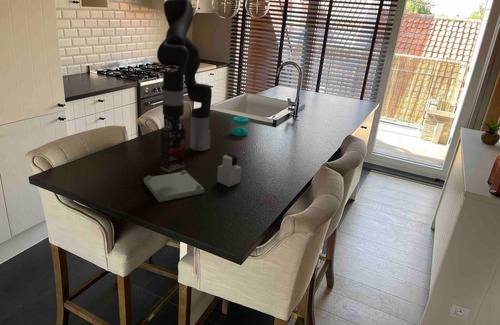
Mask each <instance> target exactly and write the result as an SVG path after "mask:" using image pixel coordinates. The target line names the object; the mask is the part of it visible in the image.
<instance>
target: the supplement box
mask: <svg viewBox="0 0 500 325" xmlns="http://www.w3.org/2000/svg"><path fill="white" fill-rule="evenodd" d="M173 131H176V130H173ZM185 165H186V127H184V126H183V138H182V139H180V148H179V149H174V148H173V133H172V131H171V129H170V128H161V129H160V169H161V170H163V171H166V172H168V173H170V172H172V171H174V170H177V169H181V168H184V167H186V166H185Z"/></svg>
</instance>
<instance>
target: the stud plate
mask: <svg viewBox="0 0 500 325" xmlns="http://www.w3.org/2000/svg"><path fill="white" fill-rule="evenodd" d="M143 183H144V185H145V186H146V187H147V188H148V189H149V191H150V192H151V194H152V195H153V196H154V197H155V199H156V200H157V201H158V202H159V203H162V202H166V201H171V200H177V199H180V198H185V197H186V198H187V197H191V196H196V195H201V194H204V193H205V188H204V187H203V186H202V185H201V184H200V183H199V182H198V181H197V180H196V179H194V178H193V177H192V175H190V174H189V173H188V172H187V170H185V169H183V170H181V171H180V172H178V171H177V172H174V173H168V174H167V173H166V174H162V175H161V174H160V175H154V176H151V175H146V177H144V178H143Z"/></svg>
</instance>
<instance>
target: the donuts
mask: <svg viewBox="0 0 500 325" xmlns="http://www.w3.org/2000/svg"><path fill="white" fill-rule="evenodd" d="M231 122H232V123H233V124H234V125H236V126H246V125H248V124H249V123H250V119H249V118H247V117H245V116H234V117H232V118H231ZM230 134H232V136H235V137H240V138H241V137H246V136H248V135H249V131H248V130H247V128H244V127H234V128H232V129H231V132H230Z"/></svg>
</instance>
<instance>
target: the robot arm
mask: <svg viewBox="0 0 500 325" xmlns="http://www.w3.org/2000/svg"><path fill="white" fill-rule="evenodd" d="M163 11H164V16H165V19H166V21H167V24H168V29H167V31H166V35H165V39H164V40H163V41H162V42H161V43H160V45H159V46H158V48H157V52H156V53H157V54H156V58H157V60H158V63H159V64H161V66H162V65H163V66H166V67H177V70H175V71H170V72H165V73H163V76H162V89H163V90H162V115H163V123H164V124H163V125H164V128H163V129H165V128H170V129H171V131H172V133H173V148H174V149H179V148H180V139H182V138H183V127H184V123H181V121H180V118H181V117H183V116H184V114H185V113H184V112H185V109H184V108H185V107H184V104H185V100H184V99H185V95H184V82H185V87H186V88H185V89H186V93H187V96H188V98H189V101H191V102H193V103H198V104H200V107H195V108H192V109H191V111H190V112H191V113H190V149H191V150H192V151H196V152H204V151H207V150H210V149H211V130H210V113H211V105H212V97H213V96H212V95H213V92H212V90H213V89H212V87H211V85H209V84H205V83H198V82H197V80H196V74H197V72H198V71H199V68H200V66H201V56H200V52H199V49H198V46H197V45H196V44H195V42H194V41H193V40H192V39H191V38H190V37H188V36H187V34H188V32H189V30H190V28H191V25H192V22H193V20H194V8H193V5H192V2H191V0H165V1H164V3H163ZM173 130H176V131H173Z"/></svg>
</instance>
